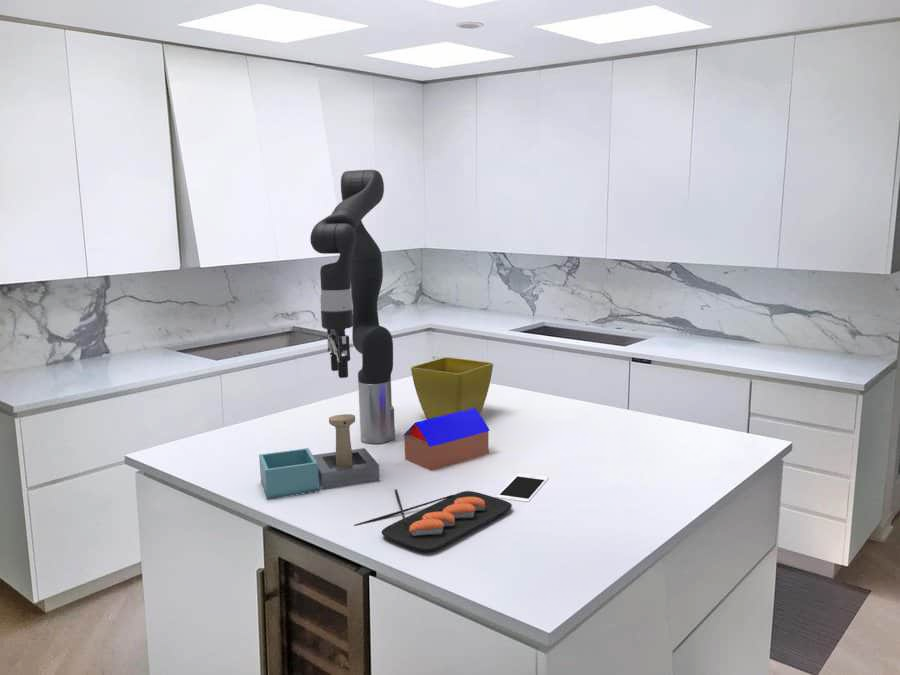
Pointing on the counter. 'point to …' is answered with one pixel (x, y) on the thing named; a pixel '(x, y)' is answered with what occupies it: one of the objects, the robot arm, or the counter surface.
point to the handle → (343, 438)
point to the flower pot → (451, 385)
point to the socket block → (346, 469)
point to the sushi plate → (443, 519)
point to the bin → (288, 473)
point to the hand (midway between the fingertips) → (339, 373)
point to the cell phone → (522, 488)
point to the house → (447, 439)
